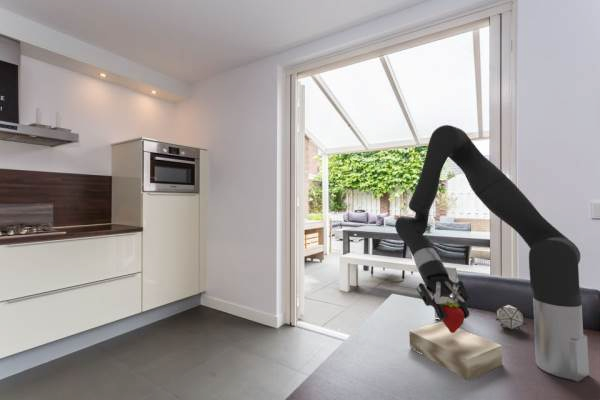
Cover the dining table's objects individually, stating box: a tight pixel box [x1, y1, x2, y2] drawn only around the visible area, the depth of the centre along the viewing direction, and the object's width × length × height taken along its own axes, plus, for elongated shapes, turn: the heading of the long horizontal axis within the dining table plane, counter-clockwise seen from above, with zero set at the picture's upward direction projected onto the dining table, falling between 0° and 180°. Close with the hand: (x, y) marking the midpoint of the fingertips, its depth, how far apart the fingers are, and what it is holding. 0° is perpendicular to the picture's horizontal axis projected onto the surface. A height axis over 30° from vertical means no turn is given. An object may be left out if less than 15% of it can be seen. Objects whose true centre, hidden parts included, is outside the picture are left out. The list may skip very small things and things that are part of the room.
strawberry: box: [440, 298, 466, 333], centre depth 80 cm, size 6×8×10 cm
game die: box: [494, 301, 528, 333], centre depth 96 cm, size 9×8×10 cm
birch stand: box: [408, 321, 503, 381], centre depth 80 cm, size 18×14×5 cm
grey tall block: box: [434, 266, 459, 319], centre depth 106 cm, size 7×7×19 cm
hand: (455, 317), depth 79 cm, fingers open, 6 cm apart
